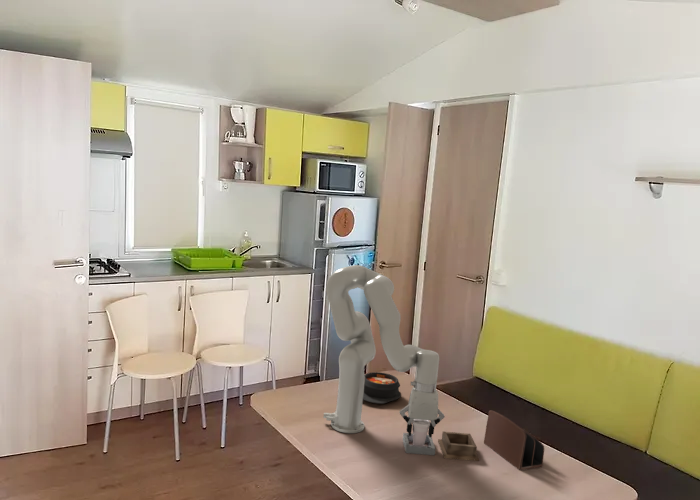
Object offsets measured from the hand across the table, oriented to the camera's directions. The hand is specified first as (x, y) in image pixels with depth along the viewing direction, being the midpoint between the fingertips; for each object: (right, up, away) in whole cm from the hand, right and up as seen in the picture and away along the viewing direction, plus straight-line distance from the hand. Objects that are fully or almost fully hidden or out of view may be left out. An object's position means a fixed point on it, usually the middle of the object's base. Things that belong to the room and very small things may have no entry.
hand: (419, 434), depth 189 cm
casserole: (-12, +1, +44) cm, 46 cm away
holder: (0, -5, +1) cm, 5 cm away
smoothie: (0, -5, +1) cm, 5 cm away
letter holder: (+33, -8, +2) cm, 34 cm away
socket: (+14, -6, 0) cm, 15 cm away
